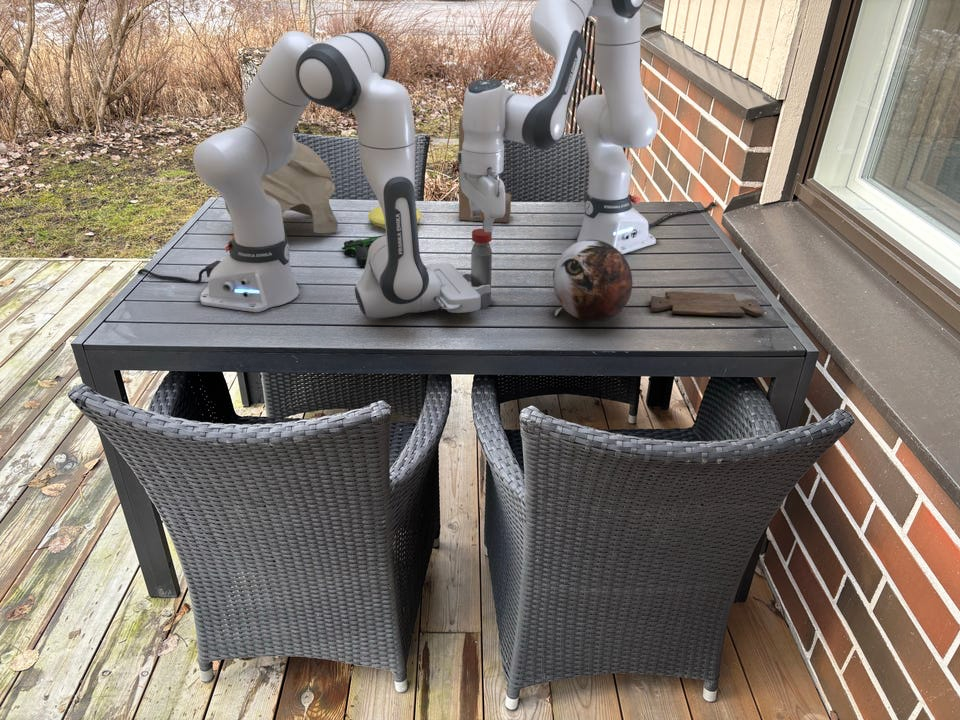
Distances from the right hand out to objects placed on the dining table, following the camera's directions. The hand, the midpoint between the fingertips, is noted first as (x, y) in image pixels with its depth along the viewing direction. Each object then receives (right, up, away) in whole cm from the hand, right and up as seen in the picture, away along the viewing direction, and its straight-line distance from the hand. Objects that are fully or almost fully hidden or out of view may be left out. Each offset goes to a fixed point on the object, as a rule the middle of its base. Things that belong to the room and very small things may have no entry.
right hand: (481, 224), depth 158 cm
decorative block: (+1, +13, +60) cm, 62 cm away
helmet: (-56, +7, +47) cm, 74 cm away
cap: (0, -2, +1) cm, 2 cm away
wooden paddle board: (+52, -18, +10) cm, 56 cm away
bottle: (0, -17, +10) cm, 19 cm away
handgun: (-29, -1, +35) cm, 45 cm away
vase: (-25, +10, +54) cm, 60 cm away
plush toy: (+25, -20, +5) cm, 32 cm away
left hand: (+1, -12, +8) cm, 14 cm away
